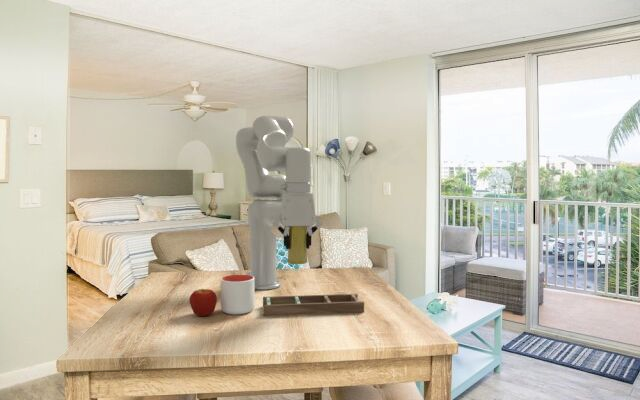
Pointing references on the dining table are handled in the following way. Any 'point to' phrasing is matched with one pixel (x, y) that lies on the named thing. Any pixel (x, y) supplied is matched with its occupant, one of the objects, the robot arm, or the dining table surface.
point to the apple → (203, 302)
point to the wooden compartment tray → (312, 304)
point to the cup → (237, 294)
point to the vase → (297, 245)
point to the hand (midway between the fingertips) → (297, 247)
